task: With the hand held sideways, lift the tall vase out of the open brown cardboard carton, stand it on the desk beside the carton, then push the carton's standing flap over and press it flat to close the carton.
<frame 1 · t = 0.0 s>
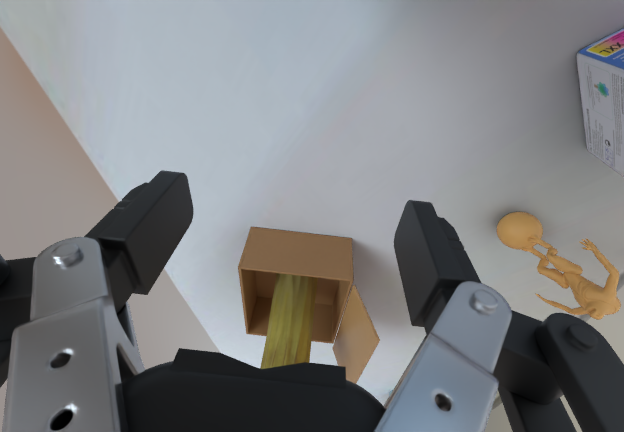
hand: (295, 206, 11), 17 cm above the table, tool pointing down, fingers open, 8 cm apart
carton: (297, 270, 41), on the table
vase: (297, 271, 41), resting on carton
ink cartridge box: (620, 87, 23), on the table
figurine: (519, 216, 32), on the table
flap: (351, 344, 34), point 10 cm above the table, hinge at 110.0°
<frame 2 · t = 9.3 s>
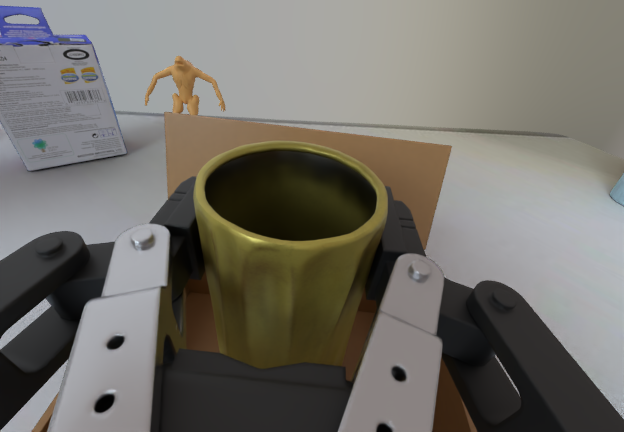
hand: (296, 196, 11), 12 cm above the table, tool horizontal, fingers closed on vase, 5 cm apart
carton: (278, 394, 17), on the table
vase: (278, 394, 17), resting on carton, touching gripper
ink cartridge box: (81, 155, 36), on the table
figurine: (195, 168, 36), on the table
flap: (303, 184, 17), point 10 cm above the table, hinge at 110.0°
when the fingers open (12 cm above the table, at t = 17.5 s): vase stays where it is, on the table.
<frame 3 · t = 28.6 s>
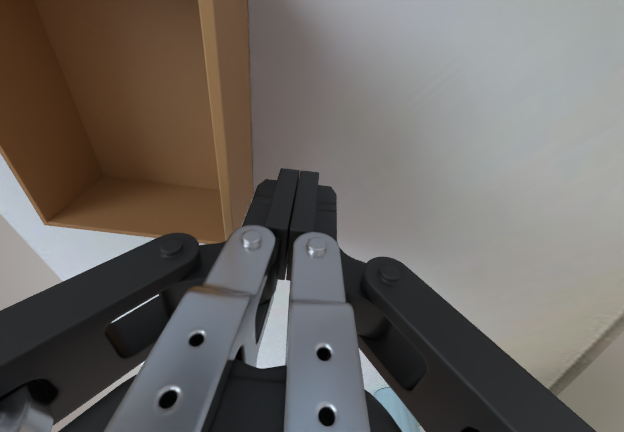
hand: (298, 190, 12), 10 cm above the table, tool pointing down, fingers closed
carton: (157, 88, 20), on the table
flap: (222, 174, 12), point 10 cm above the table, hinge at 110.0°, touching gripper
cup: (391, 392, 47), on the table
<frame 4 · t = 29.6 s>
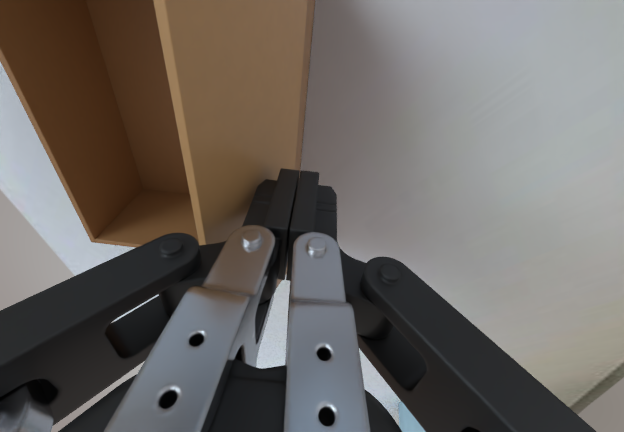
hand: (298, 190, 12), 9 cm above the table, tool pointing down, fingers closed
carton: (208, 100, 19), on the table
flap: (256, 193, 11), point 10 cm above the table, hinge at 69.4°, touching gripper
cup: (415, 403, 47), on the table
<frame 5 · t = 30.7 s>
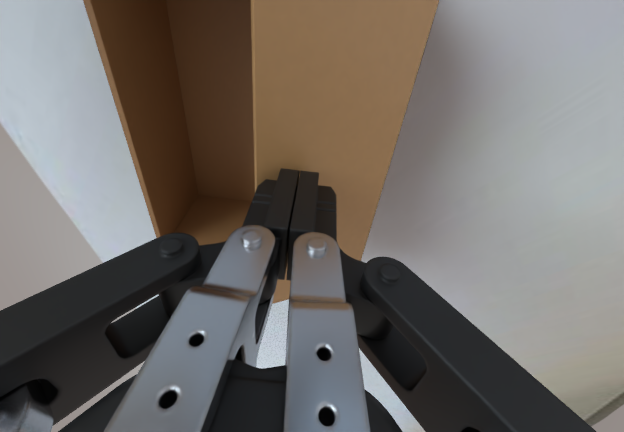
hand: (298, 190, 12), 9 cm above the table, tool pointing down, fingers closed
carton: (276, 108, 19), on the table
flap: (326, 180, 13), point 8 cm above the table, hinge at 25.9°, touching gripper
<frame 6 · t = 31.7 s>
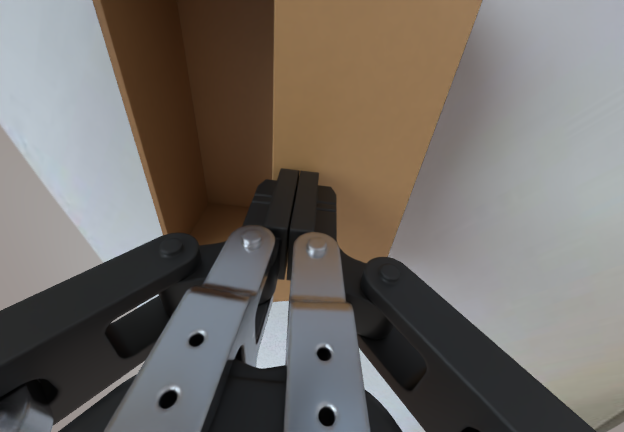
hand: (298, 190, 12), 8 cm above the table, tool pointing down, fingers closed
carton: (291, 113, 18), on the table
flap: (345, 183, 12), point 8 cm above the table, hinge at 12.9°, touching gripper
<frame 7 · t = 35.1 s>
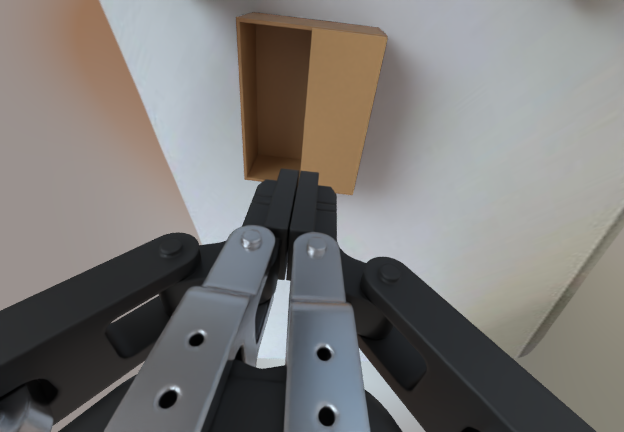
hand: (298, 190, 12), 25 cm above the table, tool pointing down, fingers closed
carton: (308, 100, 34), on the table
flap: (335, 125, 28), point 7 cm above the table, hinge at -0.5°
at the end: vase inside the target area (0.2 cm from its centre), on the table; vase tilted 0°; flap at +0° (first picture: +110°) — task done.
